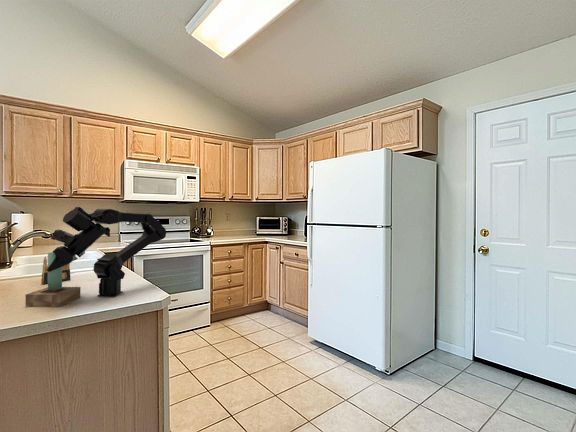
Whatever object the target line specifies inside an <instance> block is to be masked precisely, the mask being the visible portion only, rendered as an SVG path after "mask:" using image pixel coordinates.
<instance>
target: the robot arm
mask: <svg viewBox="0 0 576 432" xmlns="http://www.w3.org/2000/svg"><path fill="white" fill-rule="evenodd" d="M62 222H63V223H64V224H66V225H67V226H70V227H71V228H72V229H73V230H75V231H77V232H79V233H77V234H72V233H70V232H68V231H66V230H62V229H58V228H57V229H55V230H54V232H52V233H51V237H50V239H51V240H53V241H58V242H61V243H63V245H61V246H57V247H55V249H53V251H52V252H53V253H54V254H55V255H56V258H55V259H54V261H53V262H52V263H51V265H50V266H49V267H48V269H47V271H48V272H50V271H53V270H55V269H58V268H60V267H62V266H65V265H67V264H71V263H73V262H74V261H77V260H78V258H81V257H82V256H84V255H85V254H86V251H87V249H89V248H90V247H91V246H93V244H94V243H95V242H96V241H98V240H99V239H100V238H101V237H103V236H104V235H105V236H107V237H109V238H110V237H111V229H110V227H105V226H103V225H114V224H118V223H119V224H120V223H123V222H124V223H140V224H141V229H142V230H143V232H142V234H141V236H139V237H138V238H136V239H135V240H134V241H132V242H131V243H129V244H128V245H127V246H125V247H123V248H122V249H121V250H119V251H117V252H116V253H113V254H112V253H105V254H103V255H102V256H101V257H99V258H96V260H97V261H95V262H94V263H93V273H94V274H95V275H96V278H97V279H100V281H99V283H98V295H97V297H98V298H99V297H101V298H102V297H105V298H106V297H107V298H108V297H110V298H111V297H112V298H113V297H114V298H115V297H117V296H119V295H122V294H123V293H124V291H122V280H123V279H124V278H125V275H126V273H125V272H124V271H123V270H122V268H123V266H124V264H125V262H127V261H129V260H130V259H131V258H132V257H134V256H136V255H137V254H139V252H141V251H142V250H143V249H145V248H146V247H147V246H150V244H151V245H152V244H154V243H157V242H160V241H162V240H163V239H165V238H166V237H167V230H166V228H165V227H164V226H163V224H162V223H161V222H159V221H158V220H157V219H156V218H155V217H154V216H153V215H152V214H150V213H131V212H123V211H119V210H117V209H113V208H97V209H95V210H94V211H93V212H92V213H88V212H86V211H85V210H84V209H83V208H82V207H81V206H75V207H74V209H71V210H69V212H67V213H66V214H64V216H63V217H62Z"/></svg>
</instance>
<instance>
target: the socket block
mask: <svg viewBox="0 0 576 432" xmlns="http://www.w3.org/2000/svg"><path fill="white" fill-rule="evenodd" d="M80 298H81V286H62V288H61V289H57V290H48V286H47V287H45V288H41V289H39V290H36V291H32V292H28V293H26V294H25V307H29V308H30V307H34V308H35V307H36V308H37V307H38V308H39V307H41V308H42V307H44V308H54V307H56V308H60V307H62V306H65V305H67V304H69V302H70V303H72V302H75V301H77V300H79V299H80ZM76 299H77V300H76Z"/></svg>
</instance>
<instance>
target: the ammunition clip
mask: <svg viewBox="0 0 576 432" xmlns="http://www.w3.org/2000/svg"><path fill="white" fill-rule="evenodd" d="M70 264H71V263H70ZM70 264H67V265H65V266H62V283H65V282H70V281H71V269H70V266H71V265H70ZM47 269H48V258H47V256H44V257H43V262H42V273H41V282H40V283H41V285H44V286H45V285H46V286H47V285H48V271H47Z"/></svg>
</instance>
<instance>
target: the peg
mask: <svg viewBox="0 0 576 432" xmlns="http://www.w3.org/2000/svg"><path fill="white" fill-rule="evenodd" d="M55 258H56V255H55V254H54V253H53V252H47V266H48V267H49V266H50V265H51V263H52V262H53V261H54V259H55ZM47 287H48V290H57V289H61V288H62V287H63V282H62V267H60V268H58V269H55V270H53V271H50V272H48V284H47Z"/></svg>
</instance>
